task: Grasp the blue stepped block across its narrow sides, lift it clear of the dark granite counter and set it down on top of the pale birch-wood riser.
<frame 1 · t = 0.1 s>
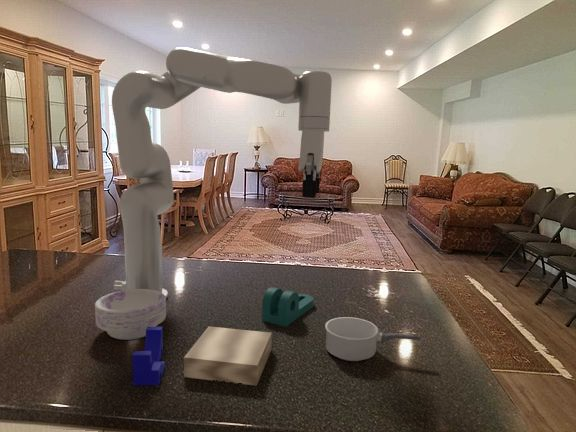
hand: (310, 195, 109), 31 cm above the counter, fingers open, 9 cm apart
blue stepped block: (153, 369, 86), on the counter
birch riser: (230, 362, 88), on the counter
paper bowls: (132, 332, 101), on the counter
bracket: (290, 313, 116), on the counter
saucepan: (370, 355, 94), on the counter
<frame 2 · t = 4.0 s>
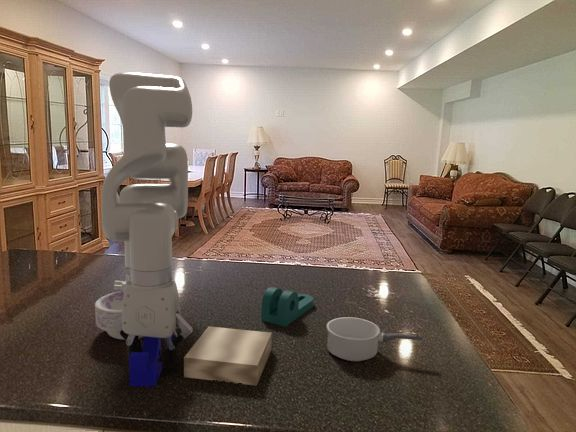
hand: (153, 362, 85), 1 cm above the counter, fingers open, 6 cm apart
nothing on the counter moved.
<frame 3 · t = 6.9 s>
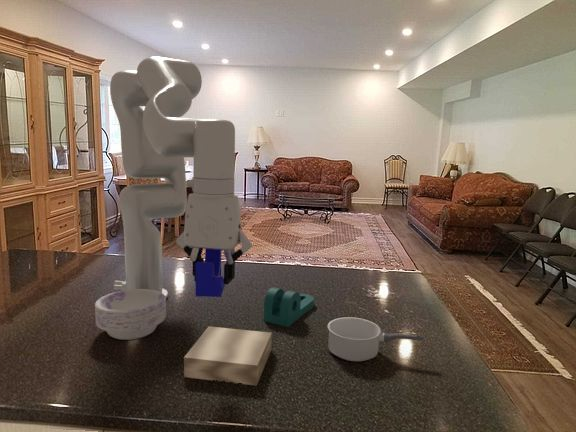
hand: (213, 279, 85), 18 cm above the counter, fingers closed on blue stepped block, 5 cm apart
blue stepped block: (213, 286, 84), point 16 cm above the counter, touching gripper
everything else where it was.
when the fingers open (6 cm above the counter, at t = 9.7 s): blue stepped block drops 1 cm, resting on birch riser.
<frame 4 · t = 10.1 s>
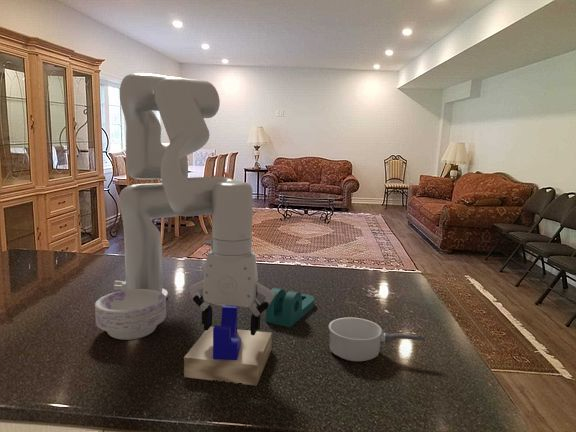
hand: (230, 329, 87), 7 cm above the counter, fingers open, 9 cm apart
blue stepped block: (229, 345, 87), point 4 cm above the counter, touching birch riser
everything else where it was.
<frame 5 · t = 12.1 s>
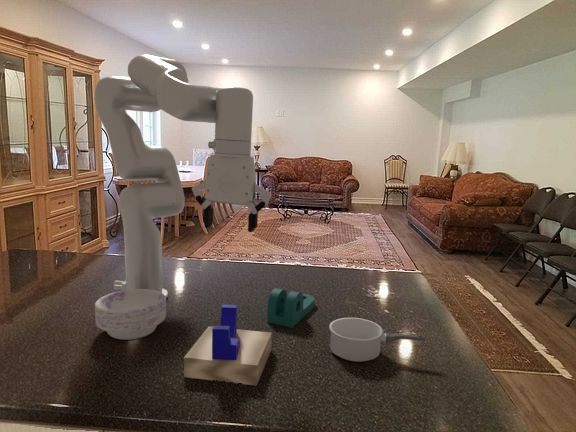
hand: (229, 228, 95), 25 cm above the counter, fingers open, 9 cm apart
nothing on the counter moved.
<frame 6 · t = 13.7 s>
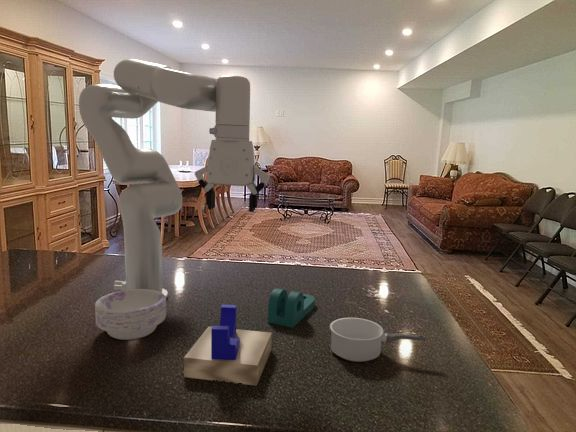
hand: (231, 209, 101), 28 cm above the counter, fingers open, 9 cm apart
at the end: blue stepped block inside the target area on the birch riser (0.5 cm from its centre), point 3.8 cm above the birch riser's base; the gripper is holding nothing; blue stepped block tilted 0° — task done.
